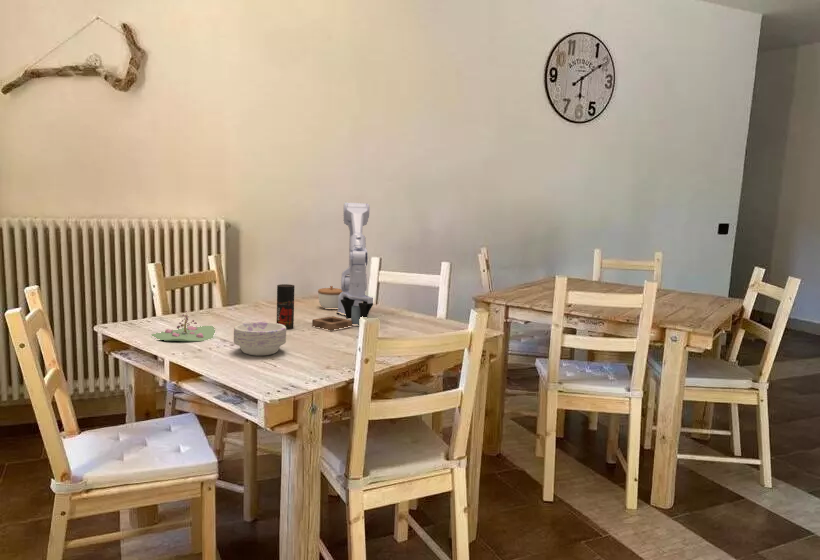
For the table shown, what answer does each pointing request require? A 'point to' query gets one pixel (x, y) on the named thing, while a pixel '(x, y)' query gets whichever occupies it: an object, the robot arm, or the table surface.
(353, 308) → the peg
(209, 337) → the plant
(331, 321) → the socket block
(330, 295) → the lidded jar
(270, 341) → the paper bowls
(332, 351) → the table surface
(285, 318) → the deodorant
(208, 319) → the table surface
